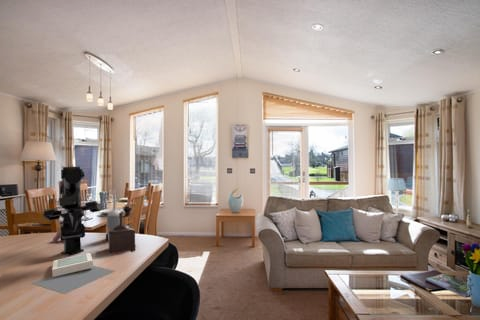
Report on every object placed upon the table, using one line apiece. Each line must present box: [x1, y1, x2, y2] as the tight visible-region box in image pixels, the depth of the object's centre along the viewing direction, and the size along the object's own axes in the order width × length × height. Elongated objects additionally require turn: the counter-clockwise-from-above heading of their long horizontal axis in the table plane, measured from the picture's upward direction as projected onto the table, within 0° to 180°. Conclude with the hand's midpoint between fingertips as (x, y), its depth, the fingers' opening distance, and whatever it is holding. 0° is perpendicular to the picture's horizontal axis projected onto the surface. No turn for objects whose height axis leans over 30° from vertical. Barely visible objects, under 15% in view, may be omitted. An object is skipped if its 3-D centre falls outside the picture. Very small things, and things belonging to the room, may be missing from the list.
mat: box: [31, 265, 116, 295], centre depth 92 cm, size 17×18×1 cm
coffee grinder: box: [107, 205, 136, 254], centre depth 125 cm, size 16×11×18 cm
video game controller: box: [52, 229, 64, 243], centre depth 137 cm, size 10×5×7 cm, turn 85°
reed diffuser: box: [105, 189, 122, 242], centre depth 139 cm, size 8×8×25 cm
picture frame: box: [51, 252, 94, 277], centre depth 100 cm, size 3×12×13 cm
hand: (73, 231), depth 106 cm, fingers closed
